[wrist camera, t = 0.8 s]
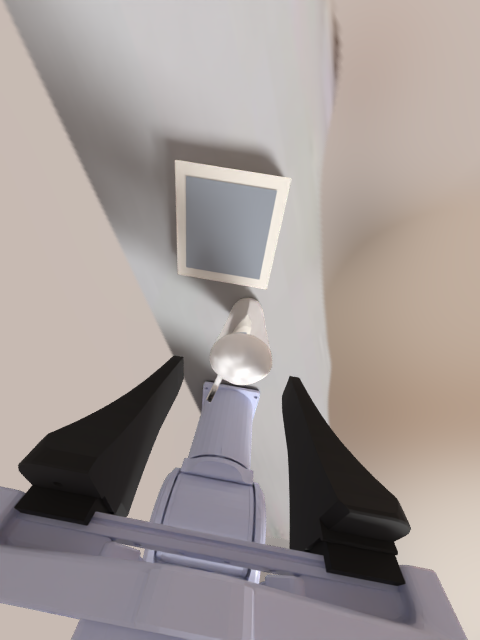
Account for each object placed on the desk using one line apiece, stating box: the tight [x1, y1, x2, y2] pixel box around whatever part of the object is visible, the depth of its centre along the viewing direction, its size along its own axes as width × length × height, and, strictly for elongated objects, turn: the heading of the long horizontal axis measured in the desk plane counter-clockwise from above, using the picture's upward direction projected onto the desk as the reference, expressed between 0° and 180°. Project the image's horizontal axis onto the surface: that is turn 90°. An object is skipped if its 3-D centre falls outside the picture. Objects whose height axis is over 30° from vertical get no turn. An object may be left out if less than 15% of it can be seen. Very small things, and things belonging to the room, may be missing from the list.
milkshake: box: [206, 297, 272, 403], centre depth 17 cm, size 4×5×10 cm
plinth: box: [175, 160, 292, 290], centre depth 16 cm, size 8×8×3 cm
